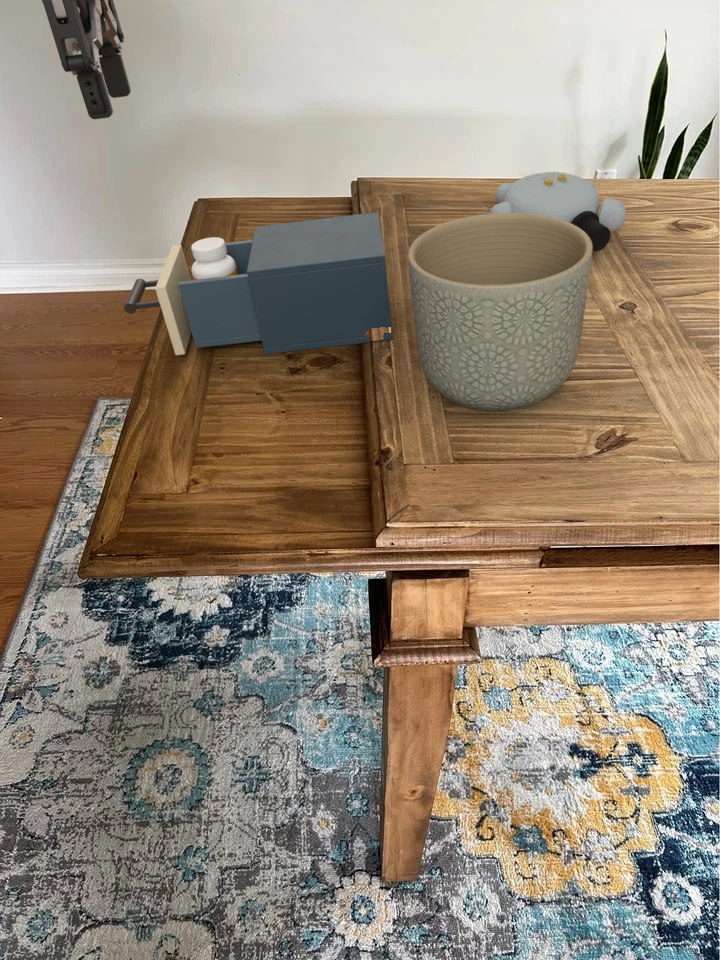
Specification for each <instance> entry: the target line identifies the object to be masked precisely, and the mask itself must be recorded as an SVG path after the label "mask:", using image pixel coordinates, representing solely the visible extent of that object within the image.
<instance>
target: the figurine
mask: <svg viewBox="0 0 720 960" xmlns="http://www.w3.org/2000/svg"><path fill="white" fill-rule="evenodd" d="M495 200H496V201H497V204H494V205H493V206H492V207H491V208H490V210H489V214H492V213H528V214H537V215H544V216H549V217H553V218H557V219H560V220H564V221H566V222H569V223H571V224H573V225H575V226H577V227H579V228H580V229H582V230H583V231H584V232H585V233H586V234H587V235H588V236H589V237H590V239H591V241H592V245H593V249H592V252H599V251H601V250H603V249H605V248H606V246H607V245H608V243H609V242H610V241H611V235H612V234H611V233H613V232H616V231H618V230H619V229H621V228H622V227H623V225H624V223H625V221H626V218H627V208H626V207H625V204H623V203H622V201H620V200H618V199H615V198H609V197H608V198H605V199H604V200H603V202H602V204H601V208H600V196H599V192H598V191H597V188H596V185H595V184H594V182H593V181H590V180H588V179H584V178H582V177H580V176H577V175H575V174H571V173H566V172H561V171H545V172H538V173H533V174H529V175H526V176H523V177H521V178H519V179H517V180H516V181H514V182H512V183H510V182H505V183H502V184H500V185H498V187H497V189H496V190H495ZM599 209H600V210H599ZM599 211H600V212H599Z"/></svg>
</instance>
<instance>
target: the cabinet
mask: <svg viewBox="0 0 720 960" xmlns="http://www.w3.org/2000/svg"><path fill="white" fill-rule="evenodd" d="M252 240H253V241H252V247H251V252H250V257H249V263H248V268H247V276H248V280H249V285H250V290H251V294H252V299H253V303H254V308H255V313H256V317H257V322H258V327H259V331H260V336H261V340H262V341H261V345H262V349H263V354H264V355H271V354H280V353H286V352H297V351H307V350H313V349H323V348H331V347H332V348H333V347H340V346H348V345H358V344H366V343H371V342H370V338H369V335H366V336H365V334H366V332H367V331H368V330H369V329H371V328H380V327H386V328H388V327H393V326H392V315H391V303H390V293H389V283H388V282H389V281H388V270H387V260H386V259H387V258H386V252H385V245H384V238H383V232H382V228H381V221H380V215H379V211H377V212H374V211H373V212H367V213H359V214H351V215H343V216H342V215H341V216H334V217H325V218H318V219H310V220H301V221H292V222H283V223H276V224H269V225H268V224H267V225H259V226H255V227H254V230H253V236H252ZM383 338H384V339H382V340H383V341H382V342H385V341H392V340H393V331H392V332H391V333H384V335H383Z"/></svg>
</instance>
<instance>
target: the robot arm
mask: <svg viewBox="0 0 720 960" xmlns="http://www.w3.org/2000/svg"><path fill="white" fill-rule="evenodd" d="M41 2H42V4H43V7H44V10H45V14H46V17H47V20H48V23H49V27H50V30H51V33H52V34H51V35H52V37H53V39H54V43H55V47H56V50H57V54H58V56H59V60H60V63H61V67H62V69H63V71H64V72H65V73H68V72H69V73H70V72H71V74H72V76H76V81H77V83H78V86H79V90H80V93H81V96H82V99H83V103H84V105H85V108H86V112H87V114H88V117H89V118H90V119H92V120H101V119H108V118H109V119H110V117H111V116H112V115H113V113H114V109H113V105H112V103H111V99H110V97H111V98H112V99H116V98H124V97H128V96H130V94H131V92H132V90H131V85H130V82H129V78H128V75H127V71H126V67H125V64H124V60H123V57H122V56H123V55H122V53H123V44H122V43H125V35H124V32H123V30H122V27H121V22H120V19H119V17H118V12H117V10H116V5H115V2H114V0H41ZM79 52H80V53H79ZM78 53H79V54H78Z"/></svg>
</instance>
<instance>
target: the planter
mask: <svg viewBox="0 0 720 960" xmlns="http://www.w3.org/2000/svg"><path fill="white" fill-rule="evenodd" d="M592 249H593V245H592V241H591V239H590V237H589V236H588V235H587V234H586V233H585V232H584V231H583V230H582V229H580V228H579V227H577V226H575V225H573V224H571V223H569V222H566V221H564V220H560V219H557V218H553V217H549V216H544V215H537V214H528V213H492V214H490V213H484V214H483V213H482V214H475V215H471V216H465V217H460V218H457V219H452V220H450V221H446V222H443V223H441V224H439V225H437V226H434V227H432V228H430V229H428V230H427V231H425V232H423V233H422V234H421V235H419V236H418V237H417V238H415V240H414V241H412V243H411V245H410V246H409V249H408V253H407V254H408V255H407V257H408V259H407V261H408V274H409V275H408V276H409V284H410V285H409V286H410V295H411V304H412V311H413V312H412V313H413V321H414V332H415V343H416V349H417V354H418V355H417V356H418V361H419V365H420V368H421V370H422V372H423V375H424V376H425V378H426V379H427V381H428V382H429V384H430V385H431V386H432V387H433V389H435V390H436V391H437V392H438V393H439V394H441V395H442V396H443V397H445V398H446V399H448V400H449V401H451V402H453V403H455V404H457V405H459V406H461V407H464V408H467V409H472V410H475V411H480V412H481V411H482V412H490V413H491V412H492V413H493V412H494V413H501V412H511V411H517V410H521V409H523V408H524V409H525V408H527V407H530V406H533V405H535V404H537V403H539V402H541V401H543V400H545V399H546V398H548V397H550V396H551V395H552V394H554V393H555V392H556V391H557V390H559V389H560V388H561V387H562V386H563V385H564V384H565V382H566V381H567V380H568V378H569V377H570V375H571V373H572V372H573V370H574V367H575V366H576V362H577V359H578V354H579V350H580V345H581V340H582V333H583V325H584V318H585V311H586V305H587V298H588V292H589V284H590V275H591V268H592V261H593V259H592V258H593V251H592Z"/></svg>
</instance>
